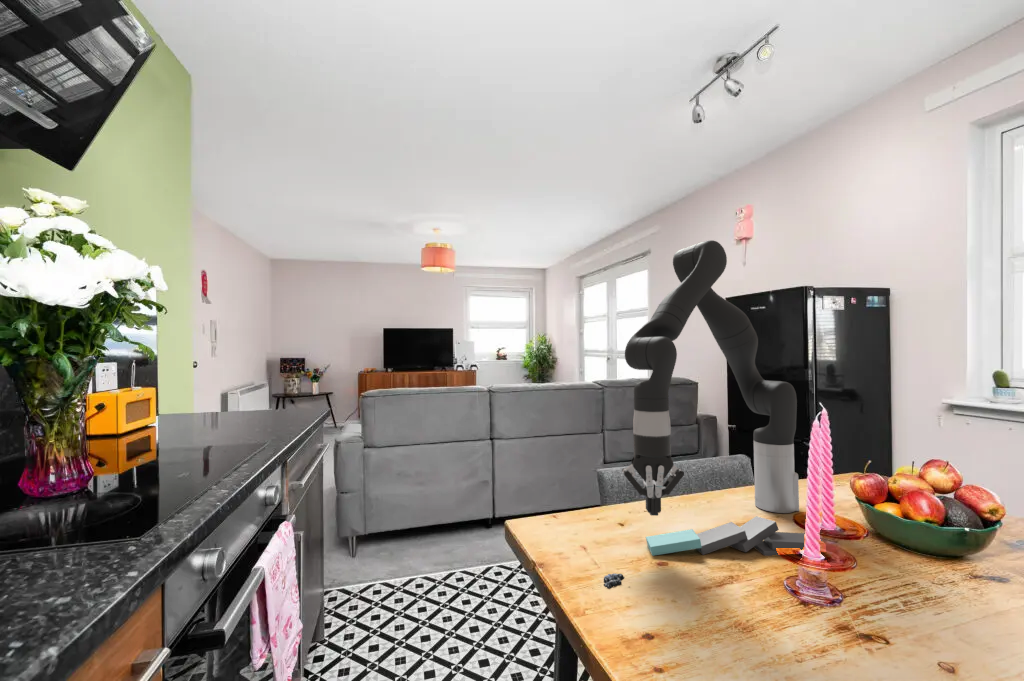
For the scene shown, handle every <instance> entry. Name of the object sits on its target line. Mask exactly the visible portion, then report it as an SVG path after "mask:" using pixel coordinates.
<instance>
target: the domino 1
mask: <svg viewBox="0 0 1024 681" xmlns="http://www.w3.org/2000/svg"><path fill="white" fill-rule="evenodd" d="M696 534H697V536H698V537H699V538H700V541H701V546H702V548H697V549H696V550H697V551H698V552H699V553H700V554H701V555H702V556H704V555H707V554H709V553H712V552H714V551H715V552H716V551H718V550H721V549H724V548H727V547H730V545H732V544H735V543H738V542H741V541H744V540H746V539H747V536H746V532H745V530H743V529H742V528H740V526H739V525H737V524H736V523H734V522H733V521H730V522H727V523H725V524H721V525H718V526H716V527H713V528H710V529H707V530H704V531H701V532H698V533H696Z"/></svg>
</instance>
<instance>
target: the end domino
mask: <svg viewBox="0 0 1024 681" xmlns="http://www.w3.org/2000/svg"><path fill="white" fill-rule="evenodd" d="M697 534H698V533H696V532H695V531H694V529H693V528H690V529H685V530H679V531H674V532H667V533H662V534H655V535H654V534H653V535H648V536H645V540H646V544H647V547H648V551H650V554H651V556H653V557H654V556H659V555H660V556H661V555H665V554H672V553H678V552H679V553H680V552H683V551H690V550H697V548H702V546H701V541H700V538H699V537H698V536H697Z"/></svg>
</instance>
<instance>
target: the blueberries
mask: <svg viewBox="0 0 1024 681" xmlns="http://www.w3.org/2000/svg"><path fill="white" fill-rule="evenodd" d="M624 579H626V577H625V576H624V574H622V573H608V574H607V575H604V577H603V587H605V588H606V587H607V589H612V588H614V587H618V586H621V585H622V581H623V580H624ZM613 586H614V587H613Z"/></svg>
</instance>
